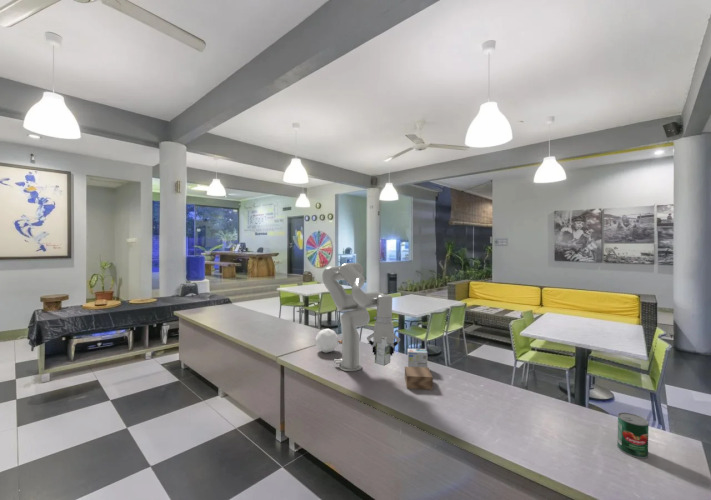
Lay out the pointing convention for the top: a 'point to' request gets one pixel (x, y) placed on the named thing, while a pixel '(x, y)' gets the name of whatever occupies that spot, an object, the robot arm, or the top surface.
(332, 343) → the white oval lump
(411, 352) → the light bulb box
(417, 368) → the walnut block
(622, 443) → the canned tomato
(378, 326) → the robot arm
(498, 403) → the top surface
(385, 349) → the syrup box
